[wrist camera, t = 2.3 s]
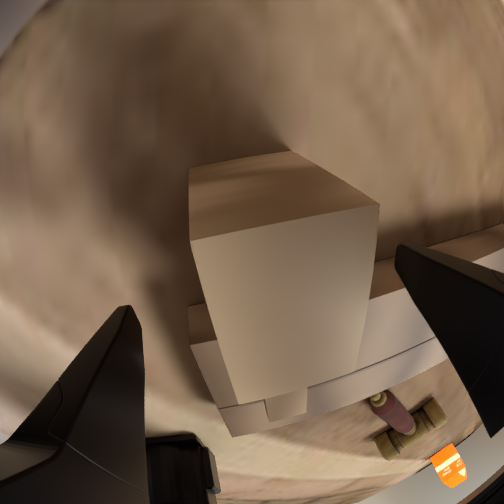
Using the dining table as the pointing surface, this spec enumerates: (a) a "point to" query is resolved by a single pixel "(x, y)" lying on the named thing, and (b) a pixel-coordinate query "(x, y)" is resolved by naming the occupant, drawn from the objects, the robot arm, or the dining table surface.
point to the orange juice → (449, 466)
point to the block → (282, 273)
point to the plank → (371, 348)
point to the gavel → (403, 423)
